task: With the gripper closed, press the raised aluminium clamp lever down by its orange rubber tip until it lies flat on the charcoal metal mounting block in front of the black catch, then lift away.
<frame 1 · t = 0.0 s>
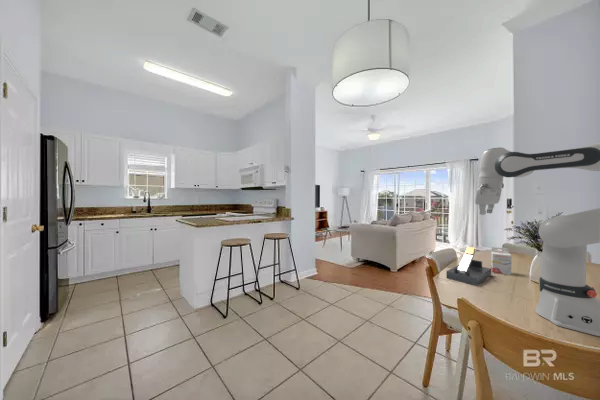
hand: (486, 213, 103), 39 cm above the table, tool pointing down, fingers open, 8 cm apart
ink cartridge box: (501, 273, 133), on the table
mounting block: (469, 276, 128), on the table
clamp lever: (466, 259, 126), point 10 cm above the table, hinge at 35.0°
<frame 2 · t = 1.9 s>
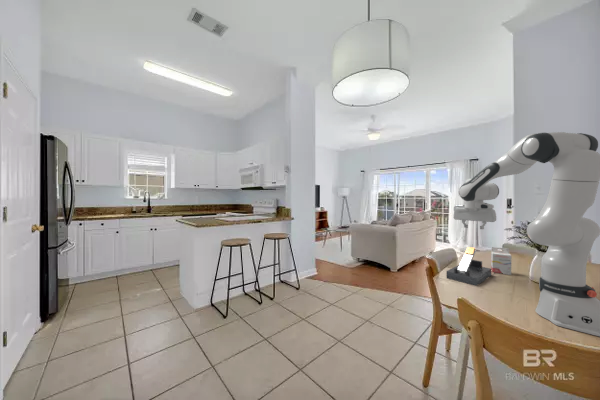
hand: (473, 228, 132), 27 cm above the table, tool pointing down, fingers open, 6 cm apart
nothing on the table moved.
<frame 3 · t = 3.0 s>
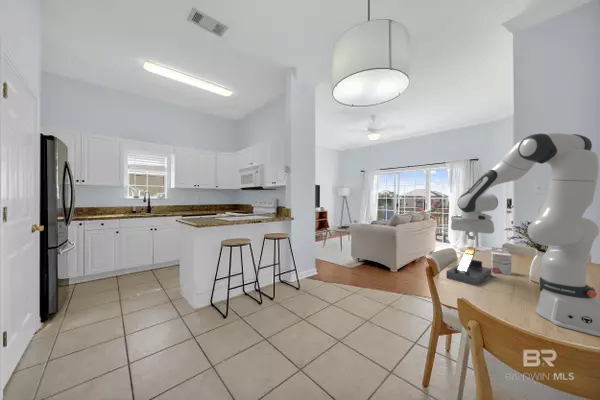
hand: (471, 239, 130), 21 cm above the table, tool pointing down, fingers closed
nothing on the table moved.
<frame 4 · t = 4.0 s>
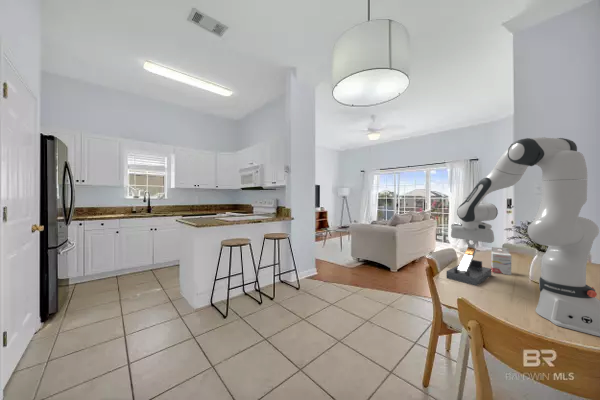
hand: (471, 247, 130), 16 cm above the table, tool pointing down, fingers closed, pressing on clamp lever
clamp lever: (466, 260, 126), point 10 cm above the table, hinge at 33.4°, touching gripper
everything else where it was.
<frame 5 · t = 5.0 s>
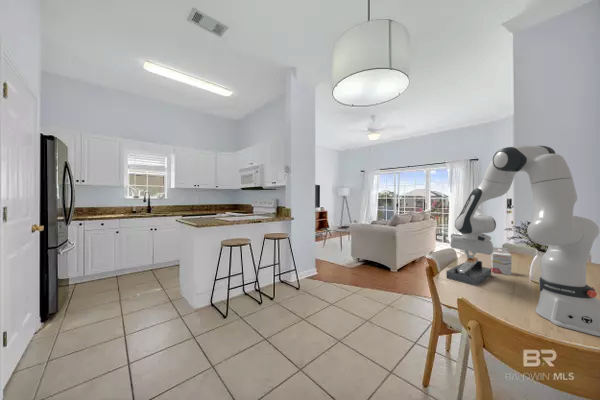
hand: (470, 258, 131), 10 cm above the table, tool pointing down, fingers closed, pressing on clamp lever
clamp lever: (467, 265, 127), point 7 cm above the table, hinge at 11.4°, touching gripper
everything else where it was.
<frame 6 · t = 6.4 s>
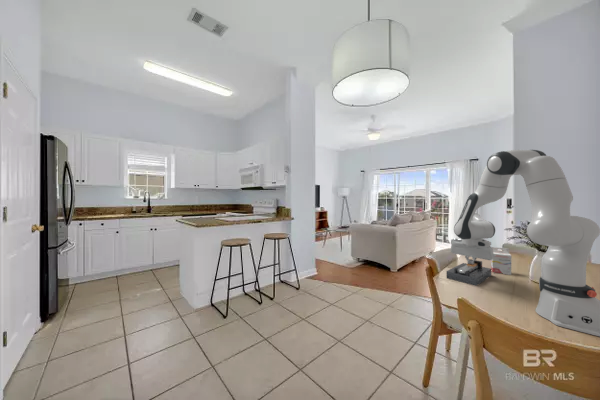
hand: (470, 263, 130), 7 cm above the table, tool pointing down, fingers closed, pressing on clamp lever
clamp lever: (467, 268, 127), point 5 cm above the table, hinge at -0.1°, touching gripper
everything else where it was.
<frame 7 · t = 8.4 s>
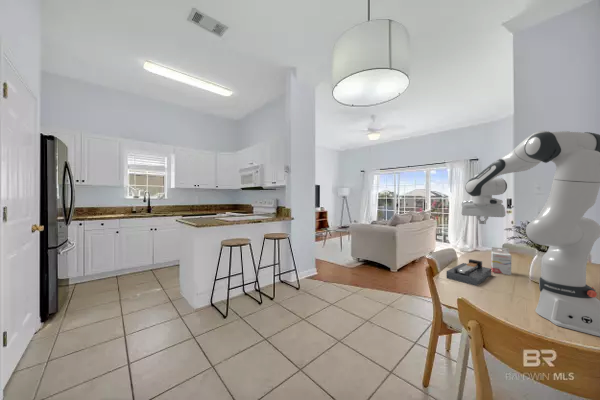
hand: (482, 224, 132), 30 cm above the table, tool pointing down, fingers closed
clamp lever: (467, 268, 127), point 5 cm above the table, hinge at -0.1°
everything else where it was.
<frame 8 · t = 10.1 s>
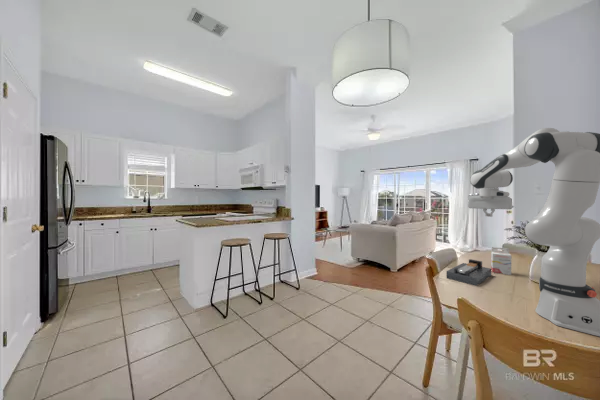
hand: (488, 216, 132), 34 cm above the table, tool pointing down, fingers closed
nothing on the table moved.
at the end: clamp lever at +0° (first picture: +35°); ink cartridge box moved 0.3 cm from its start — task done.
